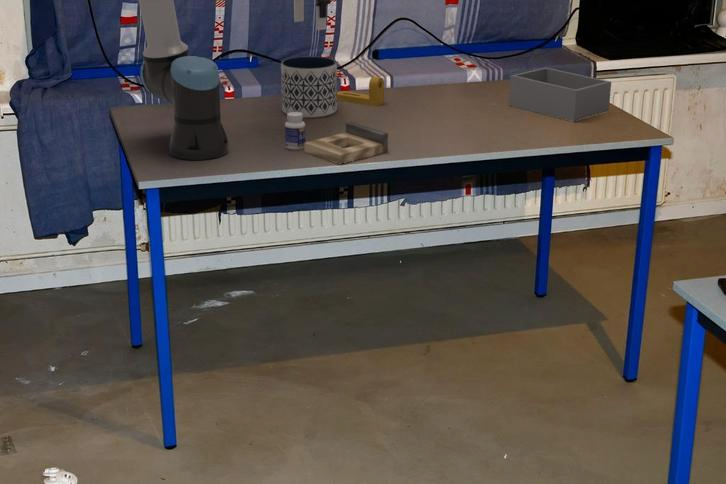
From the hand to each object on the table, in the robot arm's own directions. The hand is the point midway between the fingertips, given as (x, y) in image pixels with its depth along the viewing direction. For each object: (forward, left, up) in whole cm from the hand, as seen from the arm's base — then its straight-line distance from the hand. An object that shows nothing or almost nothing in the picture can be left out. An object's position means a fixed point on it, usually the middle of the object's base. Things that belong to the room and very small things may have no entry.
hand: (309, 25), depth 305 cm
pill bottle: (-23, -22, -26) cm, 41 cm away
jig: (-16, -34, -25) cm, 46 cm away
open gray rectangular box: (+58, -43, -25) cm, 76 cm away
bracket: (+20, +2, -26) cm, 32 cm away
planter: (+2, +3, -26) cm, 26 cm away
